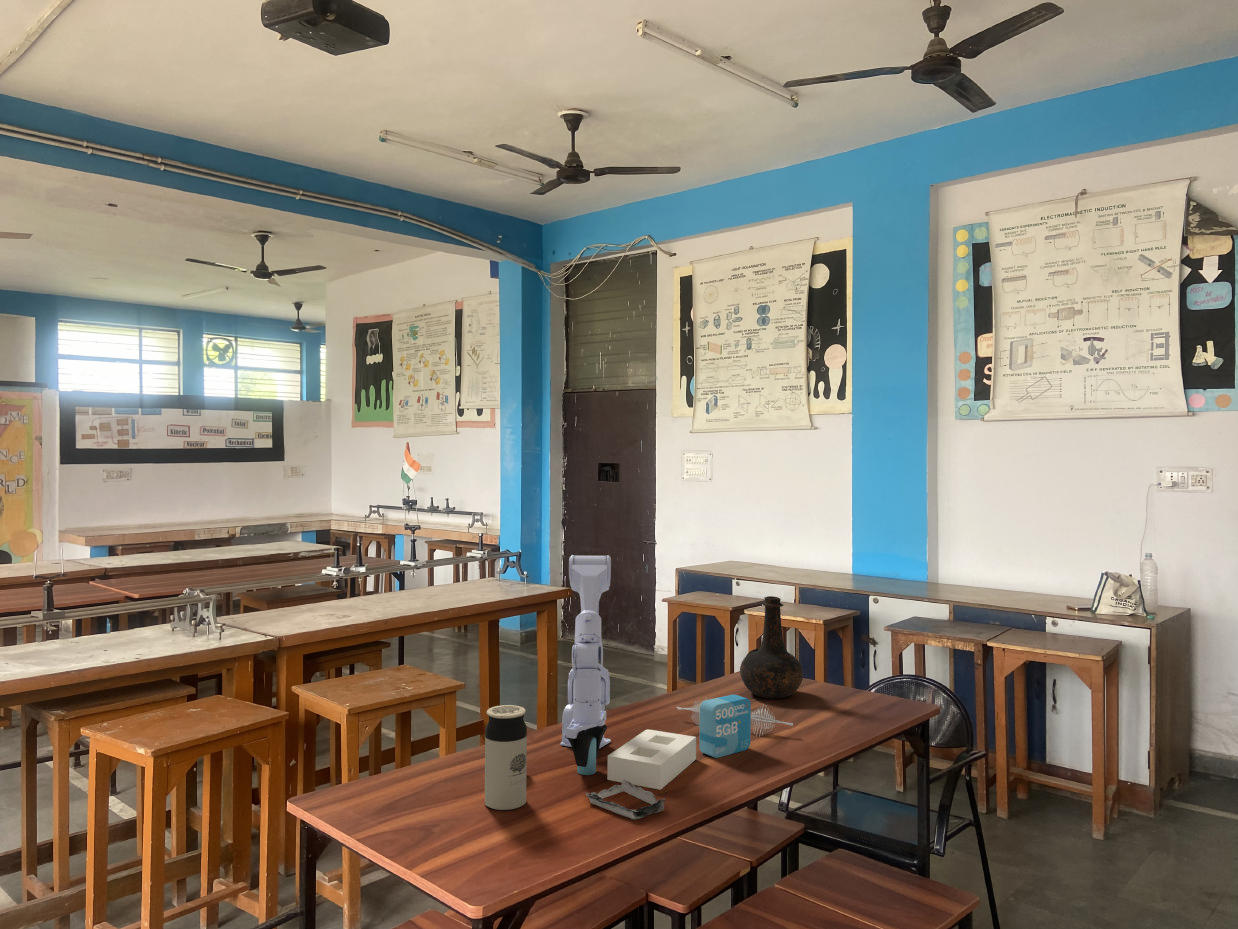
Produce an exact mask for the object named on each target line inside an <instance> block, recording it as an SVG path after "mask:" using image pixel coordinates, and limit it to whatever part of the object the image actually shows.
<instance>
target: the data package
mask: <svg viewBox="0 0 1238 929" xmlns="http://www.w3.org/2000/svg"><path fill="white" fill-rule="evenodd" d="M700 703H701V706H700V705H699V707H700V710H699V711H700V712H699V713H700V717H699V721H700V724H699V751H700V752H701V753H703V754H705V755H707V756H710V757H712V758H714V759H719V758H723V757H726V756H729V755H733V754H736V753H741V752H745V751H747V750H748V749H749V748H750V745H751V734H752V732H751V730H752V728H751V726H752V720H751V715H752V708H751V707H752V702H751V700H750V699H749V698H746V697H744V696H741V695H738V694H733V693H732V694H728V695H724V696H720V697H719V696H718V697H716V698H709V700H708V699H706V700H705V699H704V700H702V701H701V702H700Z"/></svg>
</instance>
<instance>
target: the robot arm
mask: <svg viewBox="0 0 1238 929" xmlns="http://www.w3.org/2000/svg"><path fill="white" fill-rule="evenodd" d="M570 555H571V556H569V559H568V561H569V562H568V579H569V586H570V587H571V590H572V591H574V592H575V593H578V594H579V598H580V613H579V614H577V616H576V617H575V624H574V625H575V627H574V629H575V630H574V644H573V645H572V646H571V647H572V648H571V666H572V668H571V669H570V671H569V673H568V680H567V705H565V707H564V709H563V711H562V717H561V731H562V732H561V742H560V744H559V745H560V746H565V747H569V748H570V747H571V749H572V751H573V755H574V761H575V764H576V767H577V766H581V767H586V766H587V762H588V753H589V747H590V744H591V741H592V739H593V737H595V738H596V760H597V759H598V756H599V751H600V749H601V748H603V747H604V746H605V745H606V746H607V745H608V744H609V743H611V742H612V740H611V739H610V738H605V733H606V732H607V728H608V725H606V721H607V711H606V710H605V709H606V708H605V706H608V705H609V704H610V701H611V693H610V692H611V680H610V672H609V669H607V668H605V667H604V648H603V647H604V646H603V641H602V640H603V639H602V617H601V616H600V615H599V611H600V606H599V605H600V603H599V602H600V599H601V596H602V594H603V593H604V592H607V591H609V590H610V587H611V578H612V573H611V572H612V571H611V569H612V558H611V556H610V555H609V554H608V555H607V554H606V555H574V554H570ZM599 662H600V663H599Z"/></svg>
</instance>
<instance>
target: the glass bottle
mask: <svg viewBox="0 0 1238 929" xmlns="http://www.w3.org/2000/svg"><path fill="white" fill-rule="evenodd" d="M763 599H764V602H762V603H761V604H762V605H763V606H764V620H763V631H762V639H761V645H760V647H759V648H755V649H752V650H750V651H748V653H747V654H746V656H744V658H743V660H742V661H741V664H740V667H739V673H740V677H741V678H740V679H741V680H742V683H743V684H744V686H745V687H746V688H747V690H749V691H750V693H752V694H753V695H755V696H757V697H760V698H762V699H763V698H764V699H776V700H778V699H783V698H787V697H789V696H791V695H792V694H794V693H795V692H797V691H798V689H799V687H800V686H801V684H802V682H803V679H804V670H803V667H802V664H801V662H800V661H799V659H798V658H797V657H796V656H794V655H793V654H791V653H790V652H789V651H788V650H787V649H786V648H787V647H786V646H785V645H786V644H785V642H784V641H785V640H784V636H783V629H782V628H783V627H782V616H781V614H782V612H781V607H783V606H784V604H783V603H781V598H780V597H777V596H773V595H771V596H765V597H764V598H763Z"/></svg>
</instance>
